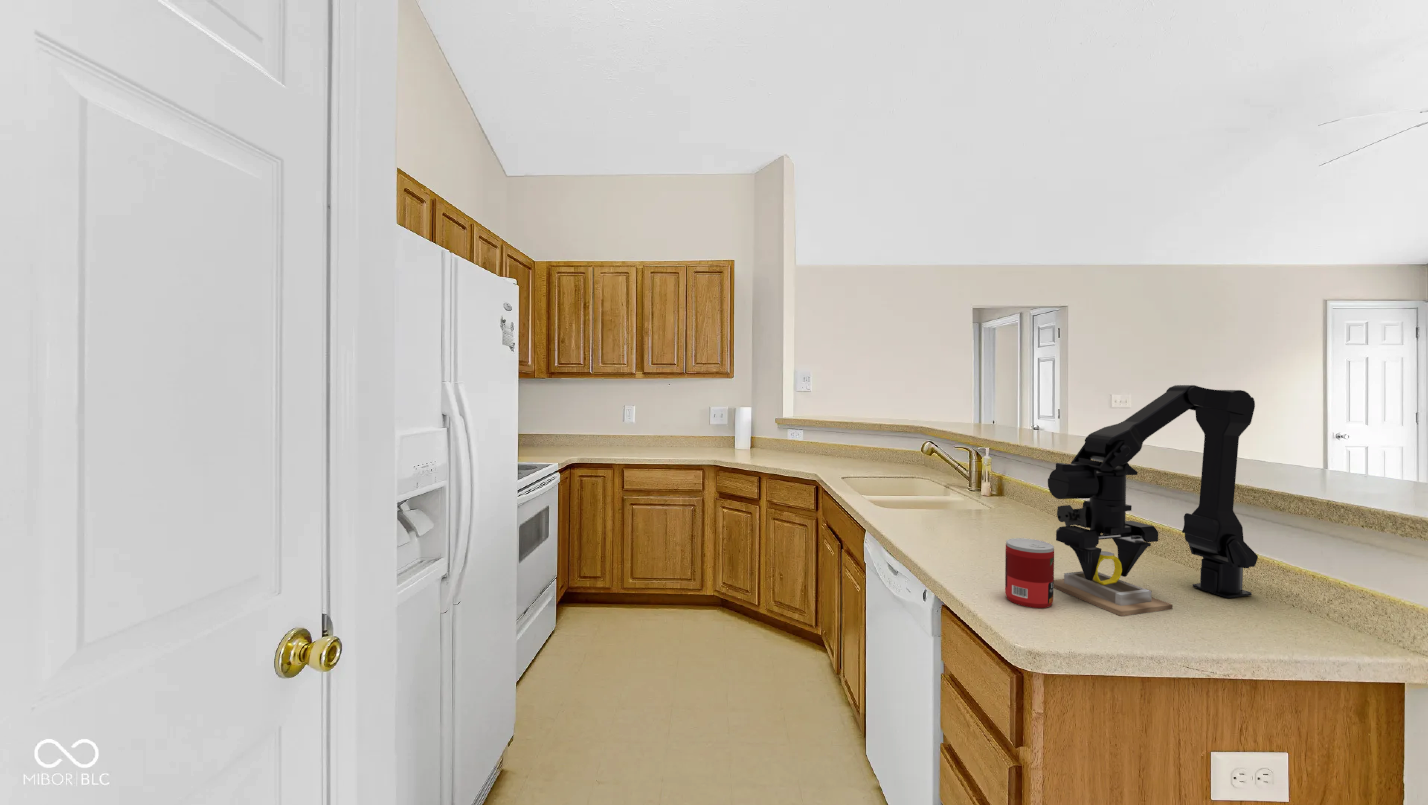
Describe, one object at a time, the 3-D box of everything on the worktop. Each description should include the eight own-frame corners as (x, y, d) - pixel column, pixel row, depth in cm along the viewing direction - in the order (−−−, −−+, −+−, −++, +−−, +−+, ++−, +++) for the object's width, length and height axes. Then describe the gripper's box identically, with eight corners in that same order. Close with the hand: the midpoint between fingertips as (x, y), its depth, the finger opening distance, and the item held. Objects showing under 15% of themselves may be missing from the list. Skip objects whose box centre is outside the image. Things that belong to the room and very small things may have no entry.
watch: (1112, 579, 110) (1112, 549, 109) (1125, 584, 107) (1125, 553, 107) (1087, 582, 108) (1087, 552, 108) (1099, 587, 106) (1099, 556, 105)
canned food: (1060, 610, 101) (1061, 550, 101) (1012, 607, 103) (1013, 548, 102) (1044, 594, 109) (1045, 538, 108) (999, 591, 110) (1000, 536, 110)
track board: (1093, 579, 117) (1093, 566, 117) (1172, 608, 102) (1172, 593, 101) (1046, 584, 114) (1046, 571, 114) (1120, 616, 99) (1120, 600, 98)
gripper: (1107, 487, 117) (1105, 561, 118) (1033, 492, 113) (1032, 568, 113) (1161, 498, 106) (1159, 579, 107) (1082, 504, 102) (1081, 588, 102)
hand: (1106, 578), depth 108 cm, fingers open, 8 cm apart
